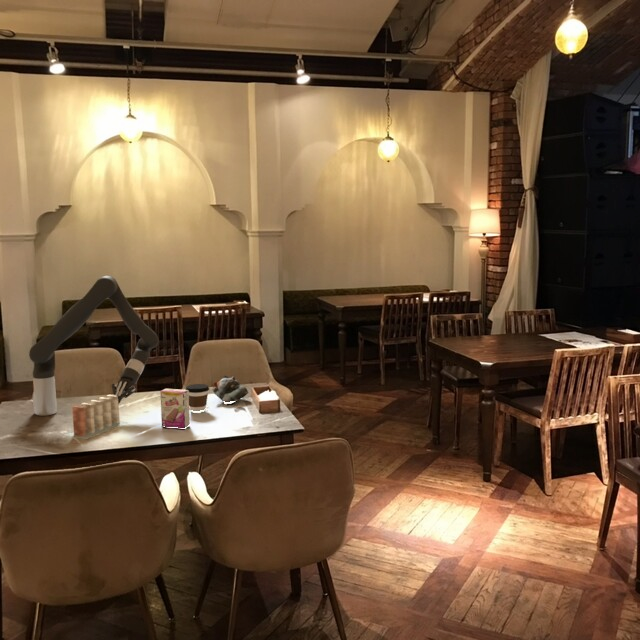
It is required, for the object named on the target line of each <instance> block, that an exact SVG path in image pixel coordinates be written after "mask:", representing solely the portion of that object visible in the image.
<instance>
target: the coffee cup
mask: <svg viewBox="0 0 640 640" xmlns="http://www.w3.org/2000/svg"><path fill="white" fill-rule="evenodd" d="M184 390H189V411H191V410H193V411H200V410H204V409H205V408H206V407H207V403H208V395H209V394H208V391H210V387H209V385H207V384H205V383H194V384H189V385H187V386H186V387H185V388H184ZM205 410H206V409H205Z"/></svg>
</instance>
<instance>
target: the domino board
mask: <svg viewBox="0 0 640 640" xmlns="http://www.w3.org/2000/svg"><path fill="white" fill-rule="evenodd" d="M129 423H130V421H125V420H120V423H112V426H103V429H101V430H99V429H95V432H94V433H89V432H86V436H77V435H74V431H72V432H69V433H65V434H63V436H65V437H71V438H76V439H82V440H88V439H90V438H92V437H96V436H97V435H100V434H103V433H105V432H108V431H110V430H113V429H116V428H118V427H122V426H124V425H126V424H129Z"/></svg>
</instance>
